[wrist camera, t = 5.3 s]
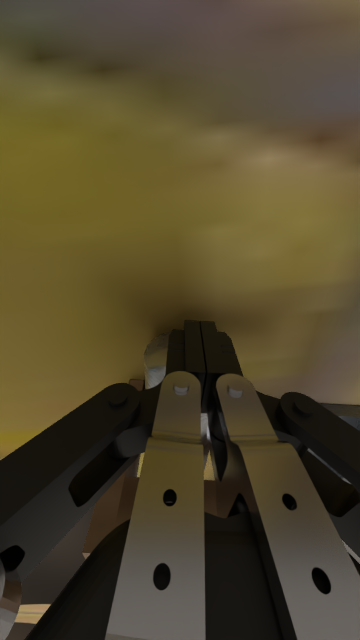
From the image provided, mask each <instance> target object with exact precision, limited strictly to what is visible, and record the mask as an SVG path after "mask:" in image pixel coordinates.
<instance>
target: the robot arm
mask: <svg viewBox="0 0 360 640" xmlns="http://www.w3.org/2000/svg"><path fill="white" fill-rule="evenodd" d="M201 413H206V414H207V417H208V424H207V430H206V431H207V438H208V444H209V449H210V455H211V460H212V466H213V472H214V477H215V483H216V508H217V516H215V515H212V514H210V513H207V512H204V456H203V442H202V441H201ZM308 449H310V450H311V451H313V452H314V453H315V454H316V455H317V456H319V457H320V458H321V459H322V460H323V461H325V462H326V463H327V464H328V465H329V466H331V467H332V468H333V469H334V470H335V471H337V472H338V473H339V474H340V475H341V476H343V477H344V478H345V479H346V480H347V481H349V482H350V483H351V484H350V483H347V482H346V481H344V480H343V479H341V478H340V477H339V476H338V475H336V474H335V473H334V472H333V471H332V470H331V469H329V468H328V467H327V466H326V465H325V464H323V463H322V462H321V461H320V460H319V459H317V458H316V457H315V456H314V455H313V454H312V453H310V452H309V451H308ZM143 452H145V454H144V459H143V464H142V468H141V473H140V478H139V482H138V487H137V492H136V496H135V501H134V506H133V510H132V515H131V518H130V519H128V520H126V521H125V522H123V523H122V524H120V525H119V526H117V527H116V528H115V529H113V530H112V531H111V532H110V533H109V534H107V535H106V536H105V537H104V538H103V539H102V541H101V542H100V543H99V544H98V545H97V546H96V547H95V548H94V550H93V551H92V552H91V553H90V555H89V556H88V557H87V558H86V560H85V561H84V562H83V564H82V565H81V566H80V568H79V569H78V570H77V572H76V573H75V574H74V576H73V577H72V578H71V579H70V581H69V582H68V583H67V585H66V586H65V587H64V589H63V590H62V591H61V593H60V594H59V595H58V596H57V598H56V599H55V600H54V602H53V603H52V604H51V606H50V607H49V608H48V609H47V611H46V612H45V613H44V615H43V616H42V617H41V619H40V620H39V621H38V622H37V624H36V625H35V626H34V628H33V629H32V630H31V632H30V633H29V635H28V636H27V637H26V638H25V639H24V640H360V564H359V563H358V562H357V561H356V560H355V559H354V558H353V557H352V556H351V555H350V554H349V553H348V552H347V550H346V548H345V546H344V544H343V542H342V540H343V541H344V542H345V543H346V544H347V545H348V546H349V547H350V548H351V549H352V550H353V551H354V552H355V553H356V554H357V555H358V557H360V431H359V430H357V429H356V428H354V427H353V426H351V425H350V424H349V423H347V422H346V421H344V420H343V419H341V418H340V417H338V416H337V415H335V414H334V413H332V412H331V411H329V410H328V409H326V408H325V407H323V406H322V405H320V404H319V403H317V402H316V401H314V400H313V399H311V398H310V397H308V396H306V395H304V394H301V393H297V392H288V393H285V394H284V395H283V396H282V397H281V399H278V398H275V397H271V396H268V395H265V394H262V393H260V392H258V391H256V390H255V388H254V386H253V385H252V383H251V382H250V381H249V380H247V379H246V378H244V377H243V374H242V371H241V368H240V365H239V362H238V359H237V356H236V354H235V350H234V347H233V344H232V340H231V338H230V337H229V336H228V335H227V334H226V333H225V332H217V329H216V325H215V322H209V321H200V322H199V321H191V320H184V330H173V331H172V332H171V333H170V334H169V338H168V350H167V360H166V371H165V376H164V378H163V380H162V381H161V382H160V383H159V384H158V385H156V386H155V387H152V388H149V389H145V390H141V391H138V390H137V389H136V388H135V387H134V386H132V385H130V384H127V383H117V384H113V385H110V386H108V387H107V388H105V389H104V390H102V391H101V392H99V393H98V394H96V395H95V396H93V397H92V398H90V399H89V400H88V401H86V402H85V403H83V404H82V405H80V406H79V407H77V408H76V409H75V410H73V411H72V412H70V413H69V414H67V415H66V416H64V417H63V418H61V419H60V420H59V421H57V422H56V423H54V424H53V425H51V426H50V427H48V428H47V429H45V430H44V431H43V432H41V433H40V434H38V435H37V436H35V437H34V438H32V439H31V440H30V441H28V442H27V443H25V444H24V445H22V446H21V447H19V448H18V449H16V450H15V451H14V452H12V453H11V454H9V455H8V456H6V457H5V458H3V459H2V460H0V640H5V639H6V637H7V635H8V634H9V632H10V630H11V627H12V626H13V624H14V621H15V619H16V616H17V613H18V610H19V607H20V602H21V595H22V585H21V583H22V581H23V580H24V579H25V578H26V577H27V576H28V575H29V574H30V573H31V572H32V571H33V570H34V568H35V567H36V566H37V565H38V564H39V563H40V562H41V561H42V560H43V559H44V558H45V557H46V556H47V555H48V553H49V552H50V551H51V550H52V549H53V548H54V547H55V546H56V545H57V544H58V543H59V542H60V540H61V539H62V538H63V537H64V536H65V535H66V534H67V533H68V532H69V531H70V530H71V529H72V528H73V527H74V525H75V524H76V523H77V522H78V521H79V520H80V519H81V518H82V517H83V516H84V515H85V514H86V513H87V511H88V510H89V509H90V508H91V507H92V506H93V505H94V504H95V503H96V502H97V501H98V500H99V499H100V497H101V496H102V495H103V494H104V493H105V492H106V491H107V490H108V489H109V488H110V487H111V486H112V485H113V483H114V482H115V481H116V480H117V479H118V478H119V477H120V476H121V475H122V474H123V473H124V472H125V471H126V469H127V468H128V467H129V466H130V465H131V464H132V463H133V462H134V461H135V460H136V459H137V457H138V456H139V455H140V453H143ZM341 539H342V540H341Z"/></svg>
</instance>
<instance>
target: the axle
mask: <svg viewBox="0 0 360 640" xmlns="http://www.w3.org/2000/svg"><path fill="white" fill-rule="evenodd" d="M170 333H171V332H168V333H164V334H162V335H160V336H158V337H156V338H155V339H153V340H152V341H151V342H150V343H149V344H148V346H147V347H146V350H145V354H144V363H145V389H149V388H152V387H155V386H156V385H158V384H159V383H160V382H161V381H162V380H163V378H164V376H165V371H166V360H167V350H168V338H169V334H170ZM207 424H208V417H207V414H206V413H201V441H202V442H203V456H204V469H205V465H206V461H207V457H208V453H209V444H208V438H207V431H206V430H207Z"/></svg>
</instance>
